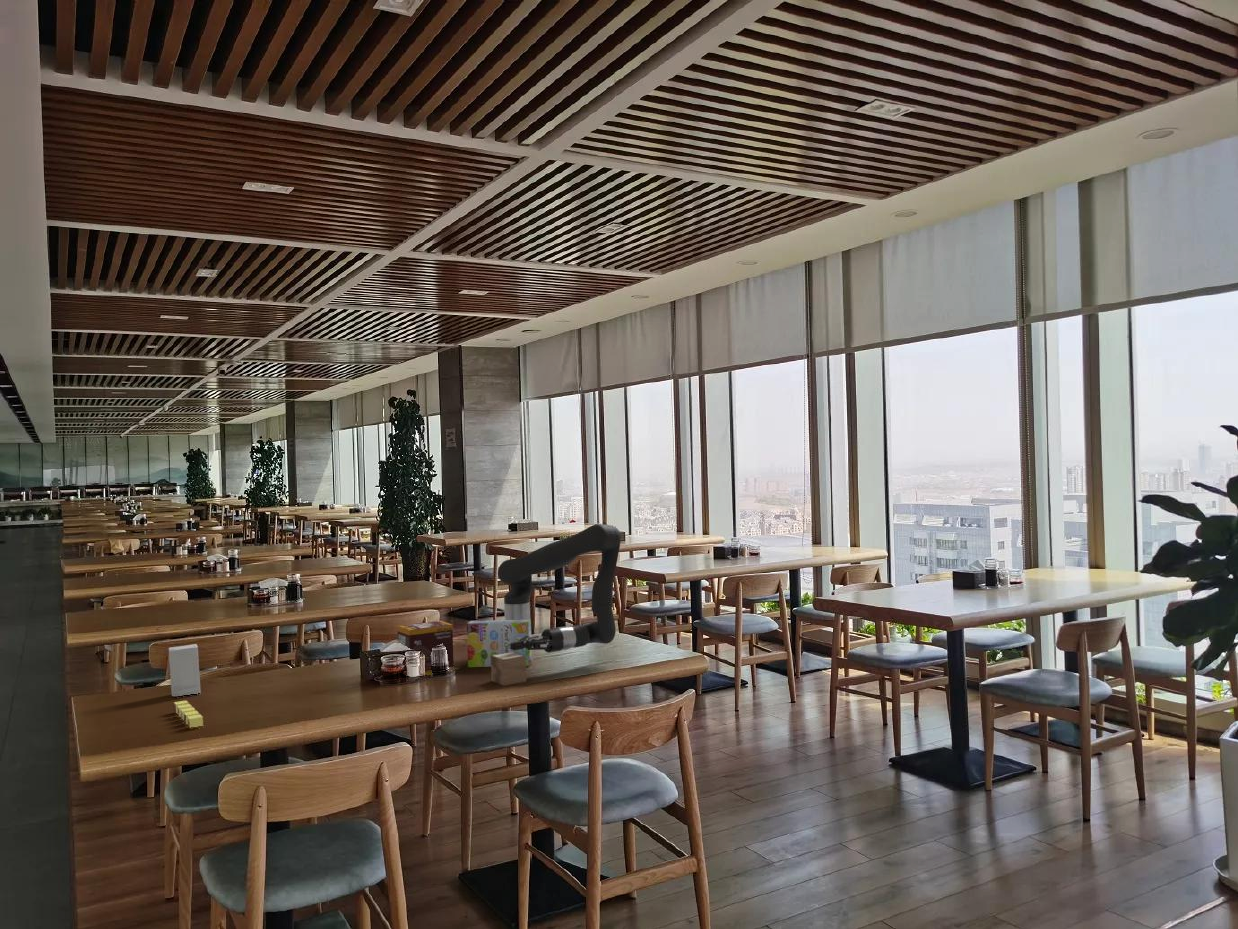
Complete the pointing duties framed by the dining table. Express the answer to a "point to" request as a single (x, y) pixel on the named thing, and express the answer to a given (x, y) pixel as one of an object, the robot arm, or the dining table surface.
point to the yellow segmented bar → (188, 714)
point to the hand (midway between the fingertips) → (511, 646)
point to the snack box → (495, 640)
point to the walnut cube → (508, 668)
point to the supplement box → (428, 639)
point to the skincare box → (184, 670)
